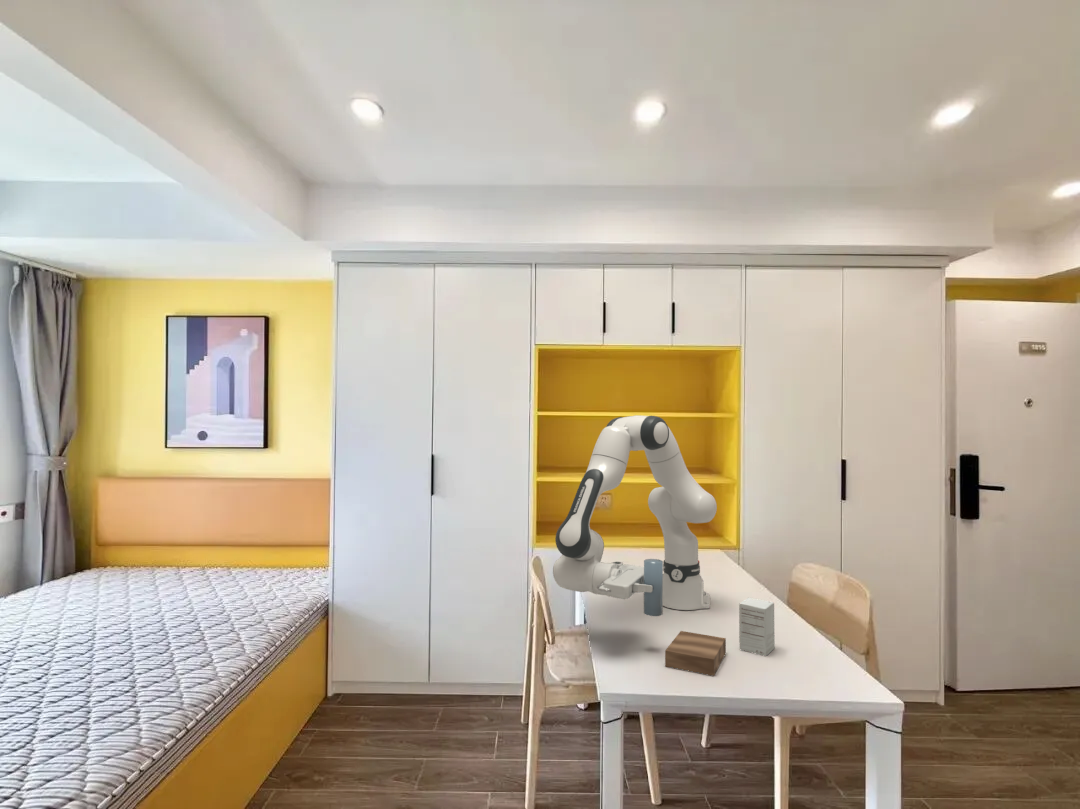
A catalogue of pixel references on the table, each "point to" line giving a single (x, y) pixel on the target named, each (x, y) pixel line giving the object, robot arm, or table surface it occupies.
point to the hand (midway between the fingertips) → (656, 585)
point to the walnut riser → (695, 652)
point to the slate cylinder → (654, 577)
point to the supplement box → (756, 626)
